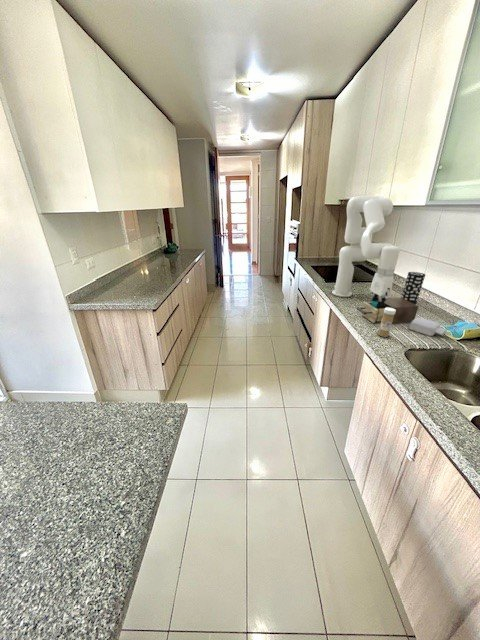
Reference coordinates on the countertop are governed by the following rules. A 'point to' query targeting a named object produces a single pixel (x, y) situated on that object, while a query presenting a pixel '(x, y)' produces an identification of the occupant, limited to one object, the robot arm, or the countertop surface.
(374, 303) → the pod
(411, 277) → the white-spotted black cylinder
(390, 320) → the sprinkles bottle
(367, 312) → the tray
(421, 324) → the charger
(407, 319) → the cabinet
